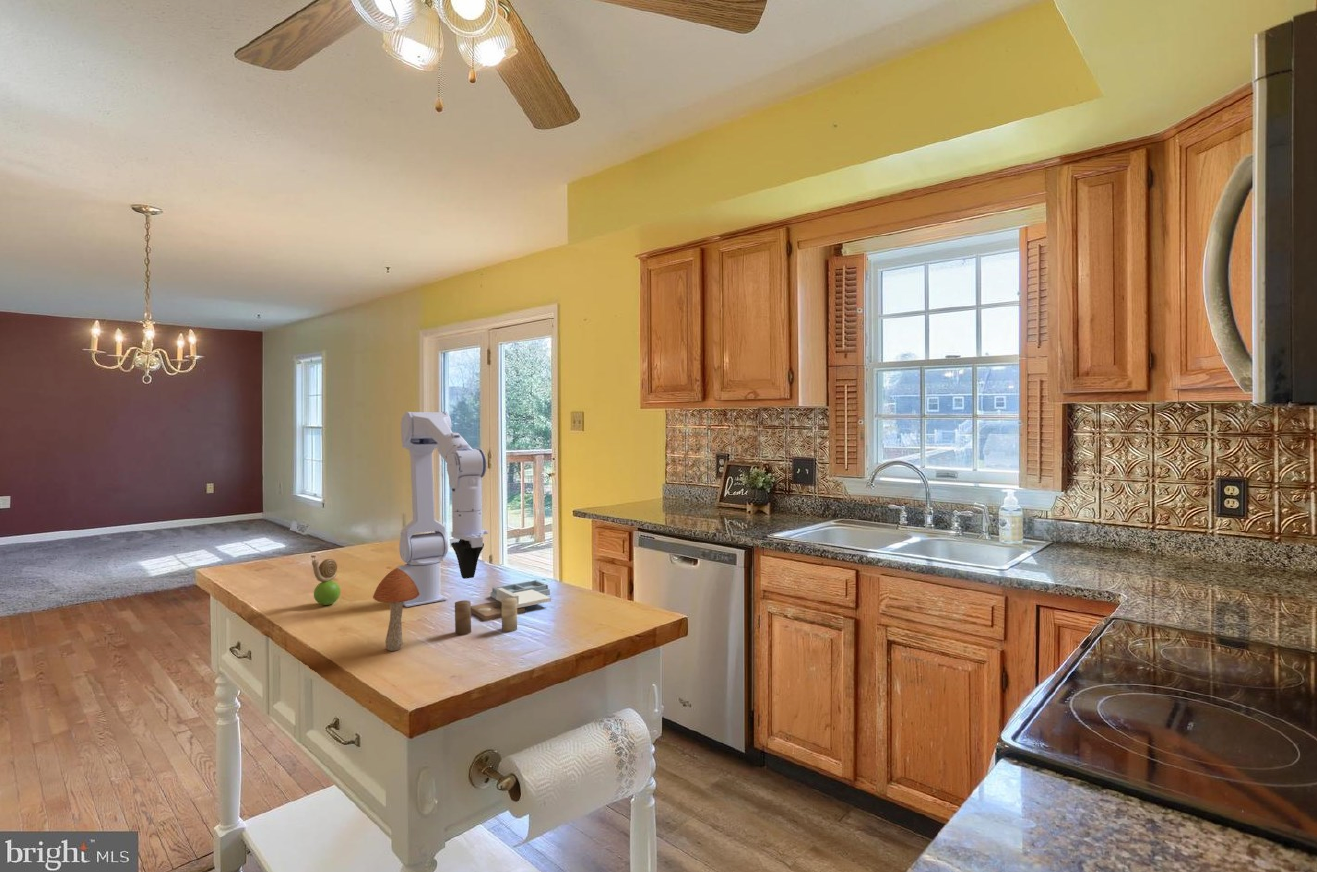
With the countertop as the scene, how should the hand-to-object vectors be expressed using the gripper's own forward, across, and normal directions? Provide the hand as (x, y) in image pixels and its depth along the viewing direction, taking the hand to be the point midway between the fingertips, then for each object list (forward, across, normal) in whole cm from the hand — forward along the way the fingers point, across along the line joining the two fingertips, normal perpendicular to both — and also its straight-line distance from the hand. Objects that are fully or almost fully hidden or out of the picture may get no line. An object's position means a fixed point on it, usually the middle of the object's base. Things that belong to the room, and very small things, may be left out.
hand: (467, 577), depth 129 cm
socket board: (+10, +18, -17) cm, 27 cm away
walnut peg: (+10, -1, +1) cm, 11 cm away
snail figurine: (+11, +34, +23) cm, 43 cm away
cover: (+9, +9, -15) cm, 20 cm away
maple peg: (+11, -4, -7) cm, 13 cm away
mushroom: (+11, -4, +14) cm, 18 cm away
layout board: (+10, +9, -8) cm, 16 cm away
